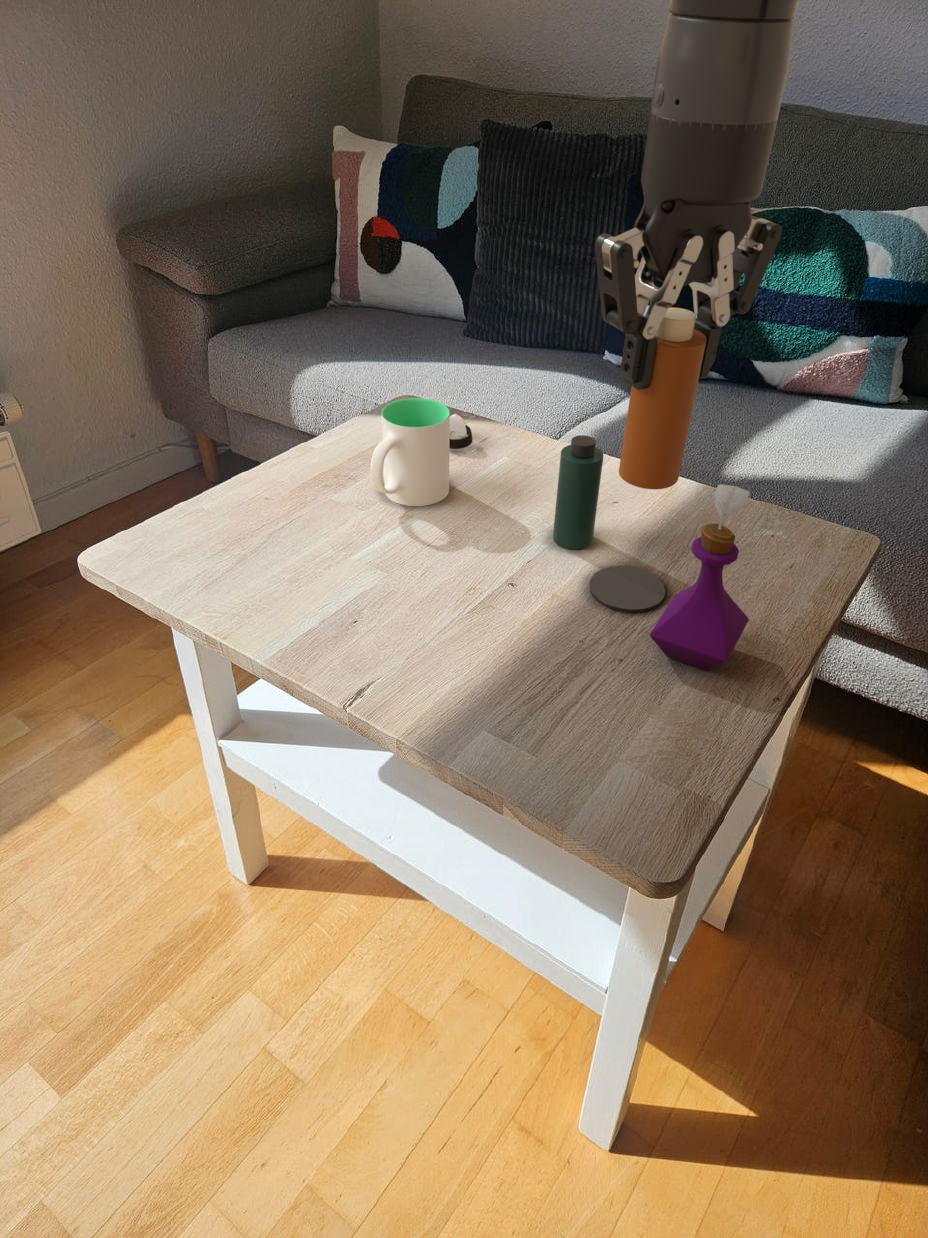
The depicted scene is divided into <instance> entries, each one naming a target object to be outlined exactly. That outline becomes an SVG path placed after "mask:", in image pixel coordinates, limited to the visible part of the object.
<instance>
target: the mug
mask: <svg viewBox="0 0 928 1238" xmlns="http://www.w3.org/2000/svg"><path fill="white" fill-rule="evenodd" d="M450 414H451V413H450V409H449V408H448V407H447V406H446V405H445V403H442V402H440V401H437V400H434V399H429V398H421V397H410V398H402V399H398V400H394V401H392V402H389V403H388V404H386V405H385V406H384V407H383V408H382V410H381V413H380V415H381V435H382V436H381V437H382V438H381V439H382V440H381V441H380V442H379V443H378V444H377V445H376V447H375V449H374V450H373V453H372V456H371V459H370V465H369V466H370V467H369V468H370V469H369V470H370V472H369V474H370V481H371V483H372V486H373V487H374V488H375V490H377V492H380V493H382V494H385V496H386V497H387V498H388V499H389V500H391V501H392V502H394V503H397V504H399V505H402V506H408V507H425V506H430V505H435V504H437V503H439V502H442V501H443V500H444V499H446V497H447V496H448V495H449V493H450V448H449V439H450V416H451V415H450Z"/></svg>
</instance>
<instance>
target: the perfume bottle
mask: <svg viewBox="0 0 928 1238" xmlns="http://www.w3.org/2000/svg"><path fill="white" fill-rule="evenodd" d="M750 494H751V492H750V491H748V490H747V489H743V488H742V487H739V486H736V485H728V484H718V485H717V487H716V488H715V493H714V506H715V508H716V511H717V513H718V516H719V518H720V519H719V521H720V522H719V523H707V524H705V525H702V527H701V530H700V531H701V532H700V533H701V535H700V536H699V537H697V538H695V539H694V540H693V542H692V545H691V547H690V551H691V553H692V554H693V556H694V557H695V558H696V559H697V560H699V561H700V563H701V566H700V571H699V575H698V577H697V579H696V581H695V582H694V584H692V585H690V586H688V587H686V588H685V589H683V590H682V591H680V592H678V593H676V594H674V595H673V597H672V599H671V600H670V602H669V603H668V605H667V606H666V608H665V610H664V611H663V613H662V614H661V616H660V617H659V619H658V620H657V622H656V623H655V625H654V626H653V628H652V630H651V631H650V633H649V637H650V638H651V639H652V640H653V641H654V643H655V644H656V645H657V646H658V648H659V649H660V650H661V651H662V653H663V654H664V655H665V656H666V657H667V658H668V659H671V660H674V661H677V662H680V663H682V664H685V665H688V666H691V667H694V668H697V669H699V670H702V671H705V672H709V671H711V670H713V669H715V668H717V667H719V666H722V665H724V664H725V663H727V662H728V661H729V659H730V657H731V655H732V653H733V651H734V649H735V648H736V645H738V644H737V643H738V642H739V640H740V638H741V636H742V634H743V632H744V630H745V628H746V626H747V624H748V623H749V620H750V619H749V617H748V616H747V614H745V612H744V611H743V610H742V609H741V607H739V605H738V604H737V603H736V602H735V601H734V599H732V597H731V596H730V594H729V593H728V592H727V590H726V589H725V588H724V587H725V586H724V582H723V570H724V566H727V565H731V564H733V563H734V562H736V561H737V560H738V557H739V553H740V551H739V548H738V546H737V545H736V543H734V542H735V540H736V535H735V534H734V533H733V531H732V530H731V529H730V528H728V527H727V526H725V525H723V523H724V521H725V520H726V519H728V518H729V517H730V516H732V515H734V514H735V513H736V512H738V510H740V508H741V507H742V506H743V505H744V503H745V502H746V501H747V499H748V498H749V496H750Z"/></svg>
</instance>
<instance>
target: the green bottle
mask: <svg viewBox="0 0 928 1238" xmlns="http://www.w3.org/2000/svg"><path fill="white" fill-rule="evenodd" d="M596 443H597V441H596V439H595V438H594V437H592V436H590V435H584V434H583V435H580V434H579V435H575V436H573V437H572V438H571V441H570V444H569V445H566V446H564V447H563V448H562V449H561V450H560V459H559V467H558V477H557V478H558V479H557V487H556V499H555V509H554V510H555V511H554V520H553V521H554V522H553V532H552V540H553V542H554V544H556V545H557V546H559V547H561V548H563V549H567V550H571V551H579V550H584V549H586V548H588V547H591V545H592V543H593V542H594V541H593V540H594V534H595V526H596V525H595V524H596V517H597V510H598V502H599V496H600V495H599V494H600V487H601V478H602V471H603V463H604V451H602V449H600V448H598V447H597V446H596V445H597V444H596Z"/></svg>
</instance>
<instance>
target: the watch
mask: <svg viewBox="0 0 928 1238" xmlns="http://www.w3.org/2000/svg"><path fill="white" fill-rule="evenodd" d="M449 428H451V429H452V431H453V432H454V433H455V434H456V435H458V436H460V437H463V438H449V449H451V450H452V449H453V450H461V449H465V448H467V447H469V446H471V445H472V444H473V432H472V429H471V427H470V426H468V424H467V422H466V421H465V420H464V419H463V418H462V417H461V416H460V415H458V414H457V413H454V414H452V415H450V426H449Z"/></svg>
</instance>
